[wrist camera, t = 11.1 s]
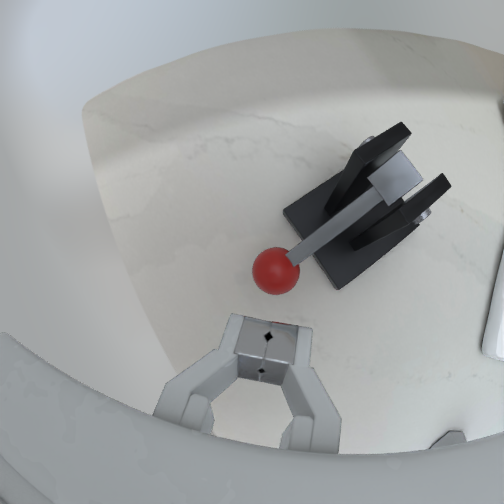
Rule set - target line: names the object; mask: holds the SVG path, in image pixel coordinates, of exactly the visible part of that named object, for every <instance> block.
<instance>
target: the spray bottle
mask: <svg viewBox="0 0 504 504" xmlns="http://www.w3.org/2000/svg"><path fill="white" fill-rule="evenodd" d="M482 352H483V355H484V356H487V357H490V358H493V359H497V360H500V361H504V250H503V254H502V259H501V263H500V267H499V271H498V275H497V279H496V283H495V288H494V292H493V296H492V302H491V307H490V312H489V316H488V321H487V325H486V329H485V333H484V338H483V343H482Z"/></svg>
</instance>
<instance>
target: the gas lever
mask: <svg viewBox="0 0 504 504" xmlns="http://www.w3.org/2000/svg"><path fill="white" fill-rule="evenodd" d="M367 178H368V180H369V181H370V182H371V184H372V185H373V186H372V187H370V188H369V189H368V190H367V191H366V192H364V193H363V194H362V195H361V196H359V197H358V198H357V199H356V200H354V201H353V202H352V203H350V204H349V205H348V206H347V207H345V208H344V209H343V210H342V211H340V212H339V213H338V214H337V215H335V216H334V217H333V218H332V219H330V220H329V221H328V222H326V223H325V224H324V225H323V226H321V227H320V228H319V229H317V230H316V231H315V232H314V233H312V234H311V235H310V236H308V237H307V238H306V239H305V240H303V241H302V242H301V243H299V244H298V245H297V246H295V247H294V248H293V249H292V250H290V251H288V250H286V249H284V248H279V247H273V248H269V249H266V250H264V251H263V252H261V253H260V254H259V255H258V256H257V258H256V259H255V261H254V264H253V268H252V274H253V279H254V281H255V283H256V285H257V286H258V287H259V288H260V289H261V290H262V291H264V292H266V293H268V294H272V295H280V294H284V293H286V292H288V291H290V290H291V289H292V288H293V287H294V286H295V285H296V283H297V281H298V279H299V274H300V267H299V263H301V262H302V261H304V260H305V259H306V258H308V257H309V256H311V255H312V254H313V253H315V252H316V251H317V250H319V249H320V248H321V247H323V246H324V245H326V244H327V243H328V242H330V241H331V240H332V239H334V238H335V237H336V236H338V235H339V234H340V233H342V232H343V231H344V230H346V229H347V228H348V227H350V226H351V225H352V224H354V223H355V222H356V221H358V220H359V219H360V218H361V217H363V216H364V215H365V214H367V213H368V212H369V211H371V210H372V209H373V208H374V207H376V206H377V205H378V204H380V203H381V202H382V201H383V200H384V201H385V202H386V204H387V205H388V206H389V207H390V206H391V205H392V204H394V203H395V202H396V201H397V200H399V199H400V198H401V197H402V196H404V195H405V194H406V193H408V192H409V191H410V190H411V189H413V188H414V187H415V186H416V185H418V184H419V183H420V182H421V181H423V178H422V177H421V175H420V174H419V173H418V171H417V170H416V168H415V167H414V166H413V165H412V163H411V162H410V161H409V159H408V158H407V157H406V156H405V154H404V153H403V152H402V151H401V150H399V151H398V152H397V153H395V154H394V155H393V156H392V157H391V158H389V159H388V160H387V161H386V162H385V163H383V164H382V165H381V166H380V167H379V168H377V169H376V170H375V171H374V172H372V173H371V174H370V175H369V176H368V177H367Z"/></svg>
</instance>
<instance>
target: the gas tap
mask: <svg viewBox="0 0 504 504" xmlns="http://www.w3.org/2000/svg"><path fill="white" fill-rule="evenodd" d="M410 135H411V132H410V131H409V129H408V128H407V127H406V126H405V125H404V124H403V123H402V122H400V123H398V124H396V125H395V126H393V127H391V128H390V129H388V130H386V131H385V132H383V133H381V134H380V135H378V136H376V137H374V136H371V137H369V138H367V139H366V140H365V141H363V142H362V143H361V145H360V146H359V148H357V149H355V150H354V151H353V153H352V155H351V157H350V159H349V161H348V163H347V165H346V167H345V169H344V170H343V171H341V172H339V173H338V174H336V175H335V176H333V177H332V178H330V179H329V180H327V181H326V182H324V183H323V184H321V185H320V186H318V187H317V188H315V189H314V190H312V191H311V192H309V193H308V194H306V195H305V196H303V197H302V198H300V199H299V200H297V201H296V202H294V203H293V204H291V205H290V206H288V207H287V208H285V209H284V210H283V214H284V216H285V217H286V218H287V220H288V221H289V223H290V224H291V225H292V227H293V228H294V230H295V231H296V232H297V234H298V235H299V237H300V238H301V239H302V241H303V240H305V239H306V238H307V237H308V236H310V235H311V234H312V233H314V232H315V231H316V230H317V229H319V228H320V227H321V226H323V225H324V224H325V223H326V222H328V221H329V220H330V219H332V218H333V217H334V216H335V215H337V214H338V213H339V212H340V211H342V210H343V209H344V208H345V207H347V206H348V205H349V204H350V203H352V202H353V201H354V200H356V199H357V198H358V197H359V196H361V195H362V194H363V193H364V192H366V191H367V190H368V189H369V188H370V187H372V186H373V185H372V184H371V182H370V181H369V180H368V178H367V177H368V176H369V175H370V174H371V173H372V172H374V171H375V170H376V169H377V168H379V167H380V166H381V165H382V164H383V163H385V162H386V161H387V160H388V159H389V158H391V157H392V156H393V155H394V154H395V153H397V151H398V150H399V149H400V148H401V146H402V145H403V144H404V143H405V141H406V140H407V139H408V138H409V136H410ZM449 188H451V184H450V183H449V181H448V180H447V178H446V177H445V175H444V174H443V173H441V174H440V175H439V176H438V177H436V178H435V179H434V180H432V181H431V182H430V183H428V184H427V185H426V186H424V187H423V188H422V189H420V190H419V191H418V192H416V193H415V194H414V195H412V196H411V197H410V198H408V199H407V200H406V201H404V200H403V199H402V198H400V199H399V200H397V201H396V202H395V203H394V204H392V205H391V206H390V207H389V206H388V205H387V204H386V202H385V201H384V200H383V201H382V202H381V203H380V204H378V205H377V206H376V207H374V208H373V209H372V210H371V211H369V212H368V213H367V214H365V215H364V216H363V217H361V218H360V219H359V220H358V221H356V222H355V223H354V224H352V225H351V226H350V227H348V228H347V229H346V230H344V231H343V232H342V233H340V234H339V235H338V236H336V237H335V238H334V239H332V240H331V241H330V242H328V243H327V244H326V245H324V246H323V247H321V248H320V249H319V250H317V251H316V252H315V253H313V254H312V255H313V257H314V258H315V260H316V261H317V262H318V264H319V265H320V267H321V268H322V270H323V271H324V273H325V274H326V276H327V277H328V279H329V280H330V282H331V283H332V285H333V286H334V288H335V289H336V290H340V289H341V288H342V287H344V286H345V285H346V284H348V283H349V282H350V281H352V280H353V279H354V278H356V277H357V276H358V275H360V274H361V273H362V272H363V271H365V270H366V269H367V268H369V267H370V266H371V265H372V264H374V263H375V262H376V261H377V260H379V259H380V258H381V257H382V256H384V255H385V254H386V253H387V252H389V251H390V250H391V249H392V248H393V247H395V246H396V245H397V244H398V243H399V242H401V241H402V240H403V239H404V238H405V237H407V236H408V235H409V234H410V233H411V232H412V231H413V230H415V229H416V228H417V227H418V226H419V225H420V224H419V223H420V222H421V221H423V220H424V219H425V218H427V217H428V216H429V215H430V214H431V211H430V209H429V207H430V206H431V205H432V204H433V203H434V202H435V201H436V200H438V199H439V198H440V197H441V196H442V195H443V194H444V193H445V192H446V191H447V190H448V189H449Z"/></svg>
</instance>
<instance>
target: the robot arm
mask: <svg viewBox="0 0 504 504" xmlns="http://www.w3.org/2000/svg"><path fill="white" fill-rule="evenodd" d="M312 334H313V330H312V328H309V327H302V326H298V325H292V324H285V323H279V322H273V321H272V322H270V321H266V320H261V319H256V318H252V317H247V316H243V315H238V314H233V313H232V314H231V315H230V317H229V320H228V323H227V325H226V328H225V331H224V334H223V337H222V340H221V343H220V346H219V349H218V350H217V349H213V350H212V351H211V352H209V353H208V354H207V355H205V356H204V357H202V358H201V359H200V360H198V361H197V362H196V363H194V364H193V365H191V366H190V367H189V368H187V369H186V370H184V371H183V372H181V373H180V374H179V375H177V376H176V377H174V378H173V379H172V380H170V381H169V382H167V383H166V385H165V387H164V389H163V392H162V394H161V396H160V398H159V401H158V403H157V405H156V408H155V410H154V413H153V415H149V414H147V413H144V412H141V411H139V410H137V409H135V408H132V407H130V406H128V405H125V404H123V403H121V402H119V401H117V400H114V399H112V398H110V397H108V396H106V395H104V394H102V393H100V392H98V391H96V390H94V389H92V388H90V387H89V386H87V385H85V384H83V383H81V382H79V381H78V380H76V379H74V378H72V377H70V376H69V375H67V374H66V373H64V372H62V371H60V370H59V369H58V368H56V367H54V366H53V365H51V364H50V363H48V362H46V361H45V360H44V359H42V358H41V357H39V356H38V355H36V354H35V353H33V352H32V351H31V350H29V349H28V348H26V347H25V346H24V345H22V344H21V343H20V342H18V341H17V340H16V339H15V338H13V337H12V336H11V335H9V334H8V333H5V332H2V333H0V504H504V431H503V432H500V433H497V434H494V435H490V436H487V437H483V438H480V439H476V440H472V441H468V442H464V443H459V444H455V445H450V446H444V447H439V448H433V449H426V450H418V451H410V452H399V453H384V454H338V451H339V442H340V432H341V420H342V419H341V417H340V415H339V413H338V411H337V410H336V408H335V406H334V404H333V402H332V401H331V399H330V397H329V395H328V393H327V392H326V390H325V388H324V386H323V384H322V383H321V381H320V379H319V377H318V375H317V374H316V372H315V370H314V368H312V367H309V366H310V356H311V345H312ZM237 377H239V378H244V379H249V380H255V381H260V382H265V383H270V384H275V385H280V386H281V388H282V390H283V393H284V395H285V398H286V400H287V403H288V405H289V408H290V410H291V412H292V415H293V417H294V418H293V420H292V421H291V423H290V424H289V425H288V427H287V428H286V429H285V431H284V432H283V434H282V437H281V442H280V447H279V449H278V448H271V447H265V446H259V445H254V444H249V443H244V442H239V441H235V440H230V439H226V438H222V437H218V436H214V435H211V431H212V428H213V424H214V421H215V420H214V416H213V412H212V408H211V404H210V403H211V402H212V401H213V400H214V399H215V398H216V397H218V396H219V395H220V394H221V393H222V392H223V391H224V390H225V389H226V388H228V387H229V386H230V385H231V384H232V383H233V382H234V381H235V380H236V379H237Z"/></svg>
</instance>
